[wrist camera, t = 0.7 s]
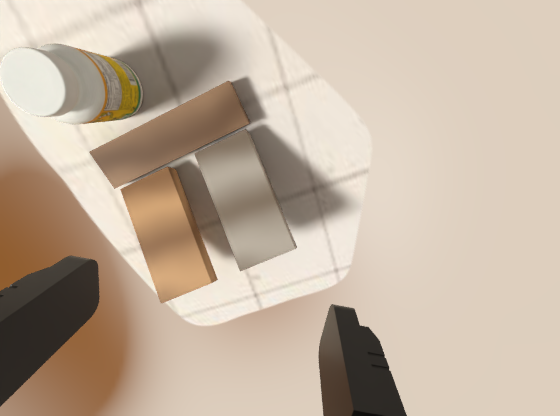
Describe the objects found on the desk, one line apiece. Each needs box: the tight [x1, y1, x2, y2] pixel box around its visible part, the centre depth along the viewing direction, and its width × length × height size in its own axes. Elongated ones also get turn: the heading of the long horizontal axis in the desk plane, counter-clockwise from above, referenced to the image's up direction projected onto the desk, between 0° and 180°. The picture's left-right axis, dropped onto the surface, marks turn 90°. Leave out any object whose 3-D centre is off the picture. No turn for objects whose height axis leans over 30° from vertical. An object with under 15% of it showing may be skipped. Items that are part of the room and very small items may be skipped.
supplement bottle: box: [0, 44, 143, 124], centre depth 22 cm, size 5×5×10 cm
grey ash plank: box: [195, 129, 297, 271], centre depth 27 cm, size 12×6×2 cm, turn 24°
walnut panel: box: [90, 81, 250, 189], centre depth 27 cm, size 4×15×2 cm, turn 115°
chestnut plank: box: [121, 167, 218, 303], centre depth 28 cm, size 12×6×2 cm, turn 24°
